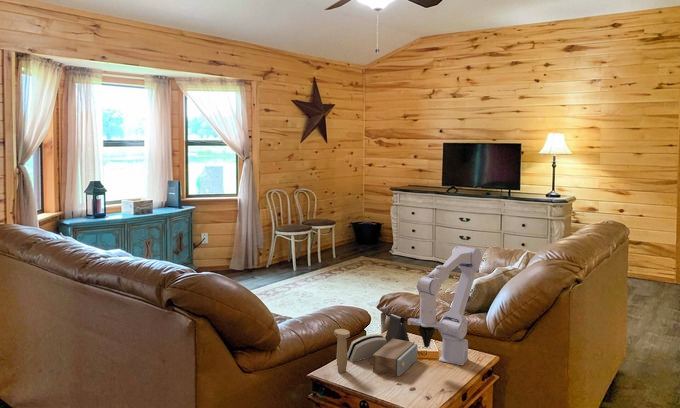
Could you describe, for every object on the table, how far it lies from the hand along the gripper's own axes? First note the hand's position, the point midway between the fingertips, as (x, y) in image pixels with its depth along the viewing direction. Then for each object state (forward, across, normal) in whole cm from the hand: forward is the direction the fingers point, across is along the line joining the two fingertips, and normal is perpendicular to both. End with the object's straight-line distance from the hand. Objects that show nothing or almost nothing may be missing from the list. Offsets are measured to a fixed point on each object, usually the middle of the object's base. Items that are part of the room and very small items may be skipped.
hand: (426, 346), depth 204 cm
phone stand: (+10, -20, +21) cm, 31 cm away
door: (+9, -7, -1) cm, 11 cm away
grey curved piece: (+10, -25, +2) cm, 27 cm away
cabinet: (+9, -12, 0) cm, 16 cm away
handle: (+10, -27, -15) cm, 32 cm away
